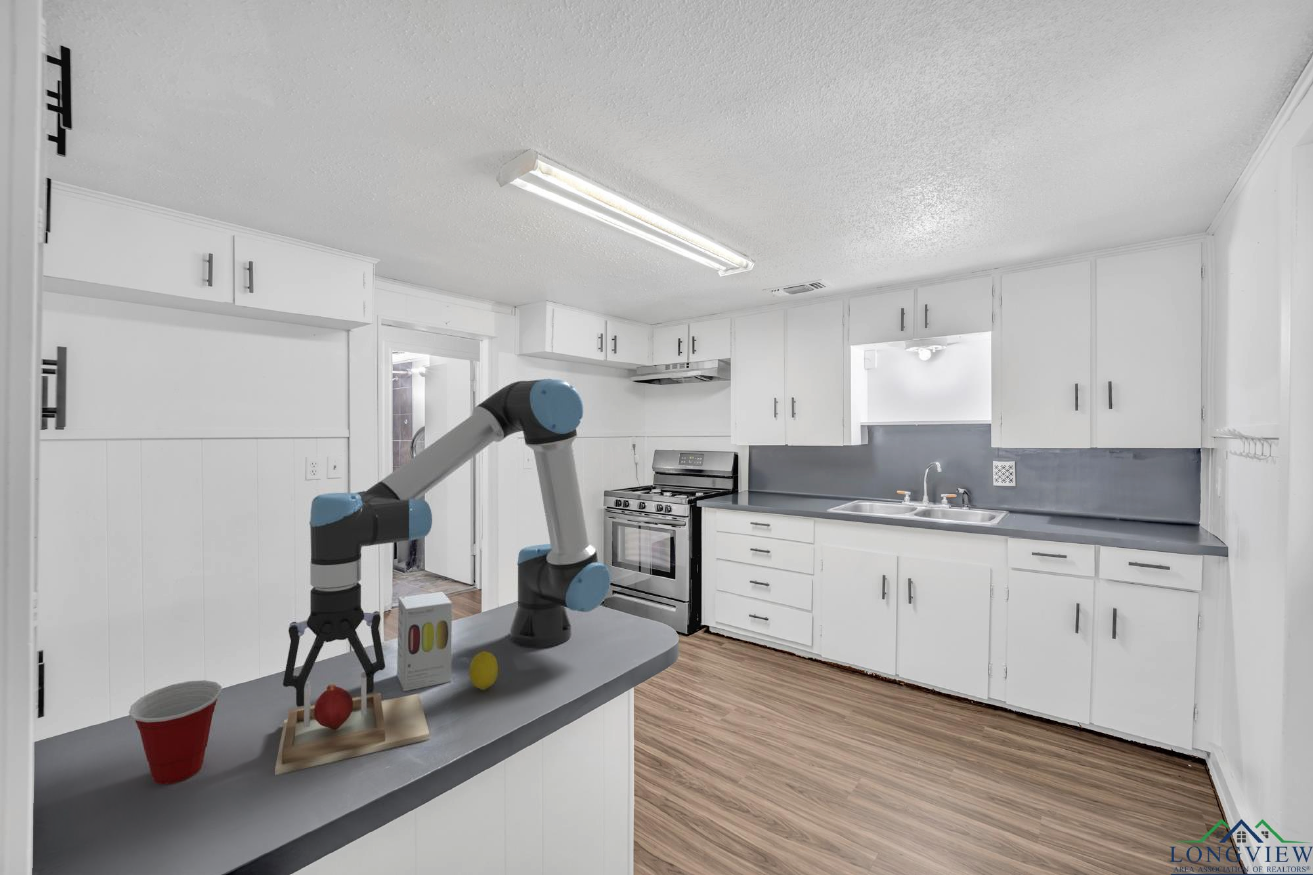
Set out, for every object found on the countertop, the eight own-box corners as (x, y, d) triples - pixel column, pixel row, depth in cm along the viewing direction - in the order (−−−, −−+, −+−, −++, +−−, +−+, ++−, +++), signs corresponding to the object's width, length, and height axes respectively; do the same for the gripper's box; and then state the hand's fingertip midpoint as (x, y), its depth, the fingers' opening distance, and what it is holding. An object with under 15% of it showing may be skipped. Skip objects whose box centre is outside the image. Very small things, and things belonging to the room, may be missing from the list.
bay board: (418, 698, 112) (418, 683, 112) (429, 739, 98) (429, 721, 98) (284, 725, 101) (284, 708, 101) (275, 775, 87) (275, 755, 87)
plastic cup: (115, 804, 80) (114, 720, 80) (147, 762, 90) (146, 686, 90) (210, 786, 85) (210, 706, 84) (230, 747, 94) (230, 675, 94)
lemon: (464, 690, 116) (464, 650, 116) (488, 681, 120) (489, 643, 120) (478, 699, 112) (478, 659, 112) (503, 690, 116) (503, 651, 116)
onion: (318, 725, 100) (314, 680, 99) (356, 715, 102) (351, 672, 102) (314, 742, 94) (309, 695, 94) (353, 732, 97) (348, 686, 96)
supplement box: (402, 692, 114) (403, 608, 114) (395, 675, 122) (396, 596, 122) (452, 681, 120) (453, 601, 119) (442, 665, 127) (443, 590, 127)
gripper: (400, 572, 106) (399, 695, 106) (265, 586, 96) (266, 721, 97) (404, 583, 99) (403, 713, 100) (260, 599, 89) (260, 743, 90)
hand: (336, 717), depth 98 cm, fingers open, 8 cm apart
